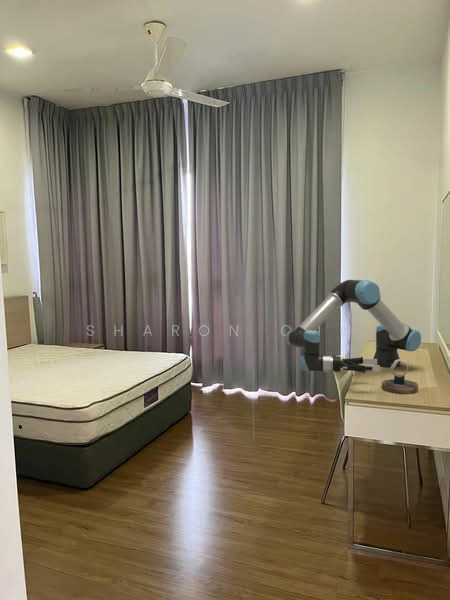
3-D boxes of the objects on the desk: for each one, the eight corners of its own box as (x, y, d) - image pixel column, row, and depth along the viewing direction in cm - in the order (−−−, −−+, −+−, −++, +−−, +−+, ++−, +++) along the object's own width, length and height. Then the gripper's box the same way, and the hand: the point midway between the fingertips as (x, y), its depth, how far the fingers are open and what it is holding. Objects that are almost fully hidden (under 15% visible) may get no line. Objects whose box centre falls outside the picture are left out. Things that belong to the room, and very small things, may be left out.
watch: (390, 380, 228) (390, 358, 227) (408, 382, 225) (408, 359, 224) (389, 383, 223) (389, 360, 222) (408, 385, 220) (408, 361, 219)
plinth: (393, 382, 236) (393, 376, 235) (424, 389, 223) (424, 383, 223) (375, 388, 226) (375, 382, 225) (406, 396, 213) (406, 389, 213)
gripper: (332, 365, 243) (375, 366, 238) (332, 378, 219) (380, 379, 214) (332, 350, 242) (376, 351, 237) (332, 361, 218) (381, 363, 213)
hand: (378, 365), depth 226 cm, fingers open, 13 cm apart
